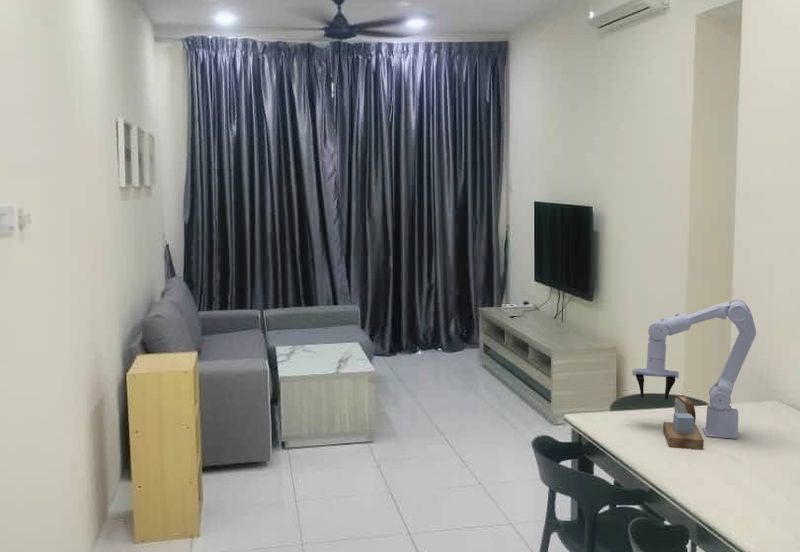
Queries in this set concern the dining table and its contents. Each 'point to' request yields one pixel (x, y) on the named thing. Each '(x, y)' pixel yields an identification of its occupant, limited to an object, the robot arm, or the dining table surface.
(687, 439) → the plinth
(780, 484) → the dining table surface
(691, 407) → the tin
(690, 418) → the block
